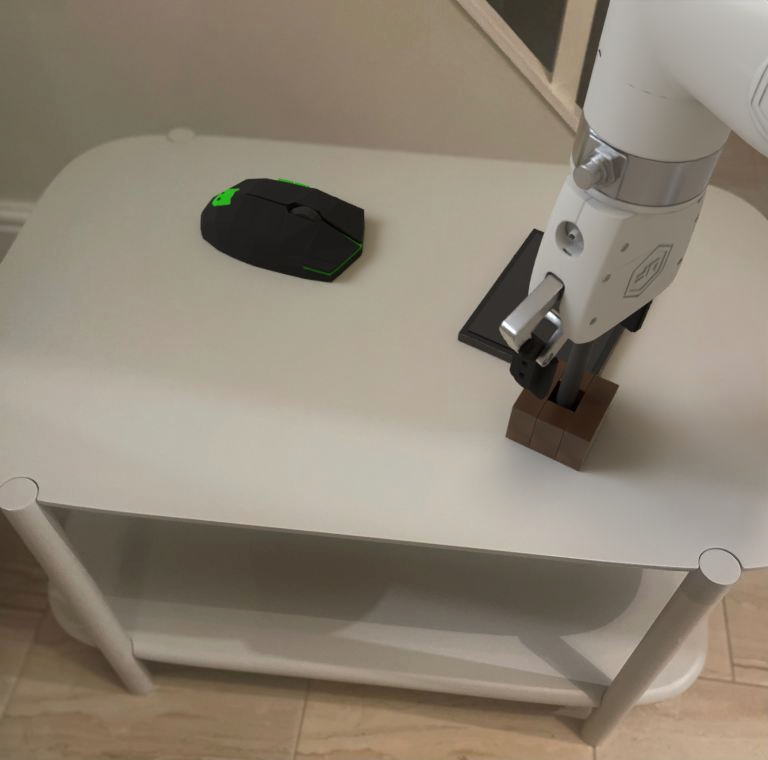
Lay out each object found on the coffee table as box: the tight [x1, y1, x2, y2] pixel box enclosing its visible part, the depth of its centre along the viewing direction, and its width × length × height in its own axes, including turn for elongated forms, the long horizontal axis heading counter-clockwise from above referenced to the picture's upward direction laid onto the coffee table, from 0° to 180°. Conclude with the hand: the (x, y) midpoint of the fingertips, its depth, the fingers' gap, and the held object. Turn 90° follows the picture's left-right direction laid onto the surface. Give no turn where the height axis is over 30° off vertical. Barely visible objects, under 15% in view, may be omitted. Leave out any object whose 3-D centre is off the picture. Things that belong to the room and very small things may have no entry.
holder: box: [505, 358, 620, 472], centre depth 62 cm, size 6×6×4 cm
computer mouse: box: [199, 177, 365, 283], centre depth 76 cm, size 11×16×4 cm
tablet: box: [457, 228, 625, 377], centre depth 71 cm, size 12×16×1 cm
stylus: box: [555, 339, 596, 411], centre depth 58 cm, size 1×1×12 cm
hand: (575, 351), depth 56 cm, fingers open, 9 cm apart
